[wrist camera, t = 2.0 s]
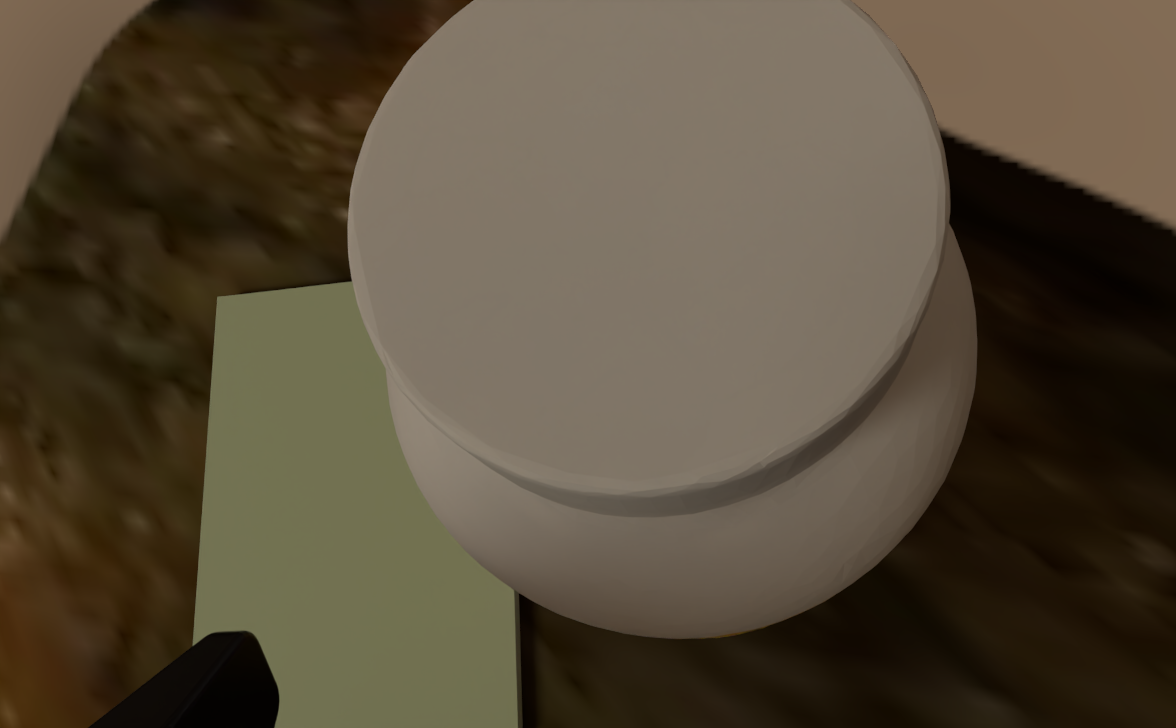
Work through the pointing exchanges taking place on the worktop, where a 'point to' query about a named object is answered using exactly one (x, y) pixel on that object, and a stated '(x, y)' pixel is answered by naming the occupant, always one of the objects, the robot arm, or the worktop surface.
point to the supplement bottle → (666, 301)
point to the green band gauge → (339, 533)
